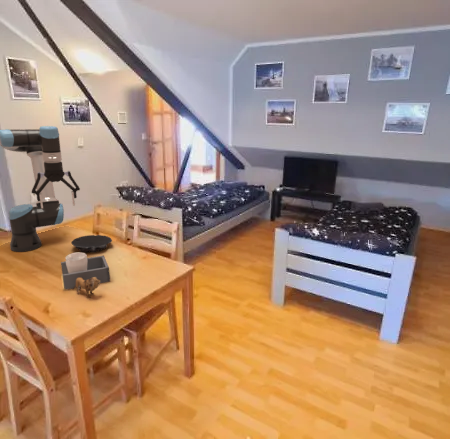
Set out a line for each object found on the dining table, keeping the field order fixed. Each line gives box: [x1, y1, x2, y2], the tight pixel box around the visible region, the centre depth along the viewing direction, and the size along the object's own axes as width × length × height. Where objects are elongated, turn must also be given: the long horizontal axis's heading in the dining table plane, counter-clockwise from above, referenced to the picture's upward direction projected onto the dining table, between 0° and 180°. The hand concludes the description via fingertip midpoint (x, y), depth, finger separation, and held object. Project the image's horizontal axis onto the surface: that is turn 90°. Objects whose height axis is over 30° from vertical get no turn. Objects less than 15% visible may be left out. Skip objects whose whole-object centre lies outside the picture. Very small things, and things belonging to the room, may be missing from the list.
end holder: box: [60, 255, 111, 291], centre depth 156 cm, size 14×20×7 cm
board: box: [71, 234, 113, 254], centre depth 190 cm, size 22×22×5 cm
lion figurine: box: [72, 277, 101, 299], centre depth 143 cm, size 15×5×9 cm, turn 69°
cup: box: [65, 251, 88, 273], centre depth 153 cm, size 9×9×12 cm
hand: (58, 206), depth 160 cm, fingers open, 13 cm apart
